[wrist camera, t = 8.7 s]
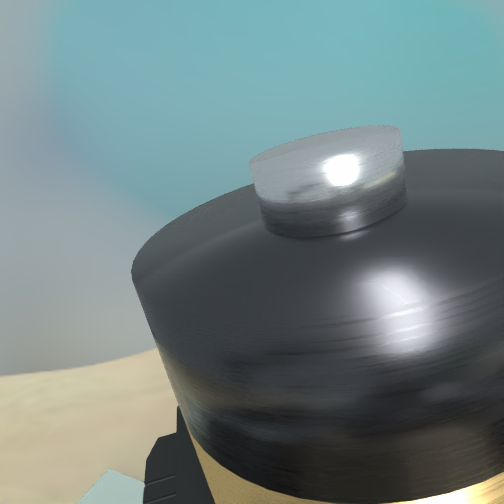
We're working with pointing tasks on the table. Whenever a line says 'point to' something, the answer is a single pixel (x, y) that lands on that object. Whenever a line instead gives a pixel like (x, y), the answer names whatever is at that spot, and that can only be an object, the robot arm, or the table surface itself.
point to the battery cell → (340, 324)
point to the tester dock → (115, 490)
